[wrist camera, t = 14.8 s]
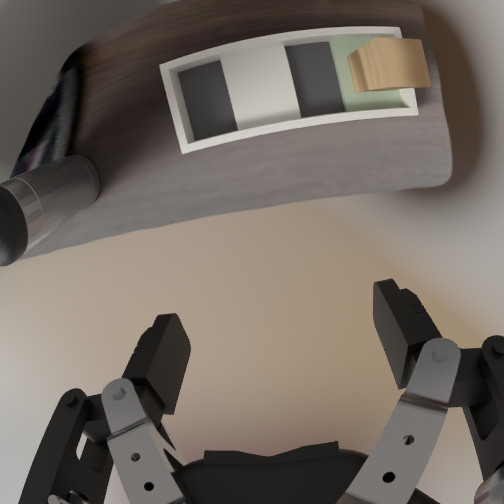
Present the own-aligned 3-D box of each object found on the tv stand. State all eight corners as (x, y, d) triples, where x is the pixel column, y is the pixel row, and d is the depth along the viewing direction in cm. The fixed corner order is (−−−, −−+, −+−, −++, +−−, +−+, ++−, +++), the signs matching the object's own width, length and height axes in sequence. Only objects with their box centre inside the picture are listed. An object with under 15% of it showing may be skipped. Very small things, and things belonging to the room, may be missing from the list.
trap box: (190, 149, 37) (182, 153, 34) (169, 68, 32) (159, 65, 29) (405, 113, 33) (418, 115, 29) (388, 33, 28) (399, 27, 24)
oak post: (355, 92, 31) (387, 86, 21) (346, 56, 29) (375, 37, 19) (389, 90, 30) (431, 86, 21) (382, 55, 28) (420, 39, 18)
